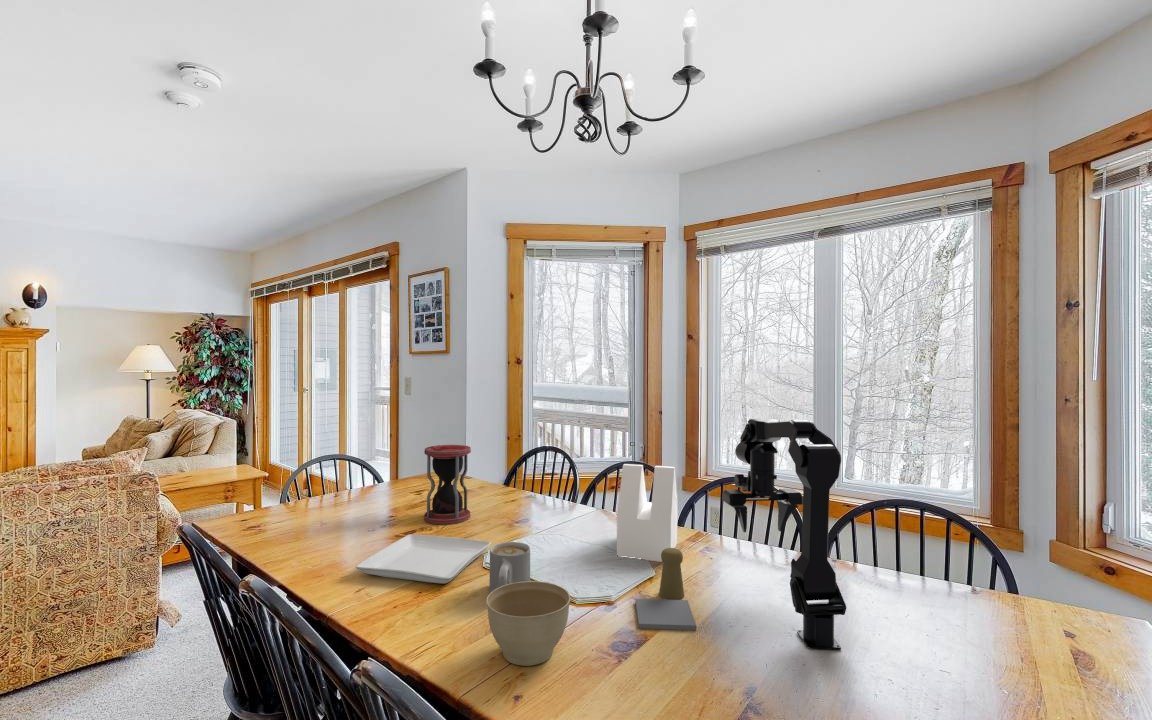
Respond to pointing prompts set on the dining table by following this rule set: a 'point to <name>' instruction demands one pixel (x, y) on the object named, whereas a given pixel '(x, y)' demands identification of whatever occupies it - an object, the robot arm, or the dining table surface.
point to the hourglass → (447, 484)
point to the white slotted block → (646, 513)
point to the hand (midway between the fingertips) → (762, 531)
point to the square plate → (424, 558)
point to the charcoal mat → (664, 614)
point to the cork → (671, 575)
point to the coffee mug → (509, 564)
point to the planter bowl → (528, 620)
